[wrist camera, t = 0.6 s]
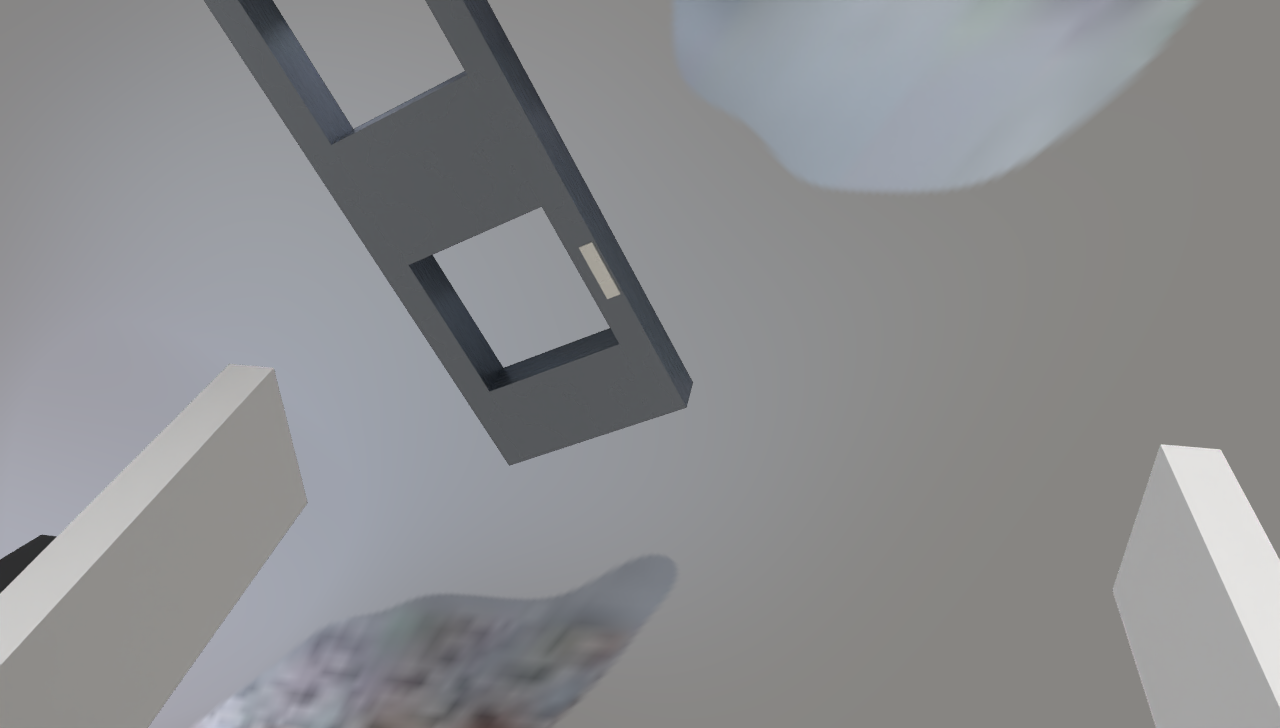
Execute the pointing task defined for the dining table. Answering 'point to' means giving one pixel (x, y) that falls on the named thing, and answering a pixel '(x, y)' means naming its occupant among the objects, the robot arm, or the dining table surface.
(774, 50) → the dining table surface
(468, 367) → the panel
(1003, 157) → the dining table surface
